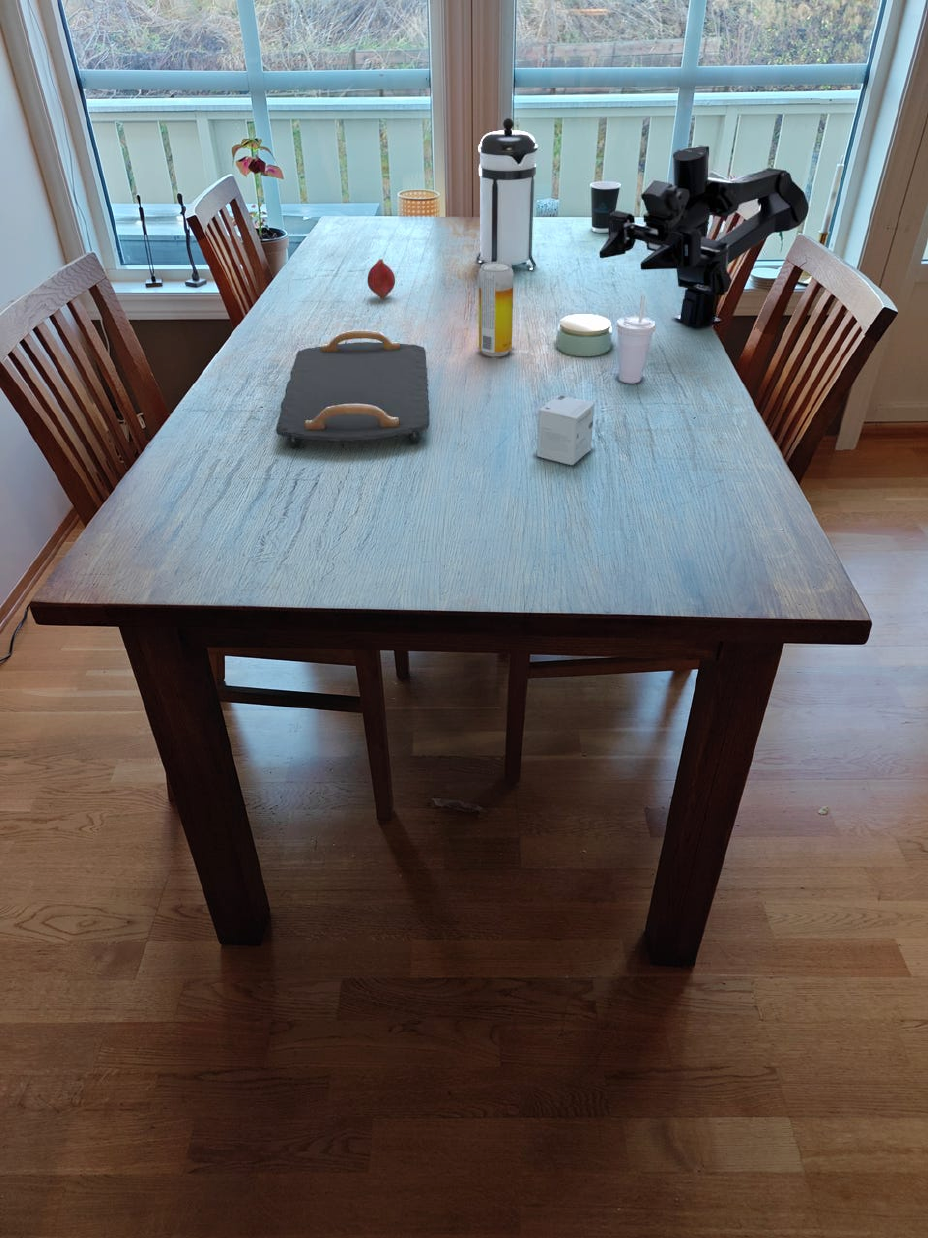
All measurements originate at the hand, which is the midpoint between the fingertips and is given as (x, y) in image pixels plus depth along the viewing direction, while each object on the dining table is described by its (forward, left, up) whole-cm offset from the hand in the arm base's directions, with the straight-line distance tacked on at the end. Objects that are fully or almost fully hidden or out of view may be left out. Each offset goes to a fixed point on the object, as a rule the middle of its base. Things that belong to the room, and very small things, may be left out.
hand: (620, 260), depth 142 cm
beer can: (+17, -13, -16) cm, 27 cm away
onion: (+20, -52, -16) cm, 58 cm away
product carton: (+31, +26, -16) cm, 44 cm away
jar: (+2, -6, -16) cm, 17 cm away
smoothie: (+5, +11, -16) cm, 20 cm away
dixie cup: (-54, -69, -16) cm, 89 cm away
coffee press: (-15, -58, -16) cm, 62 cm away
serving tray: (+48, -7, -16) cm, 51 cm away
